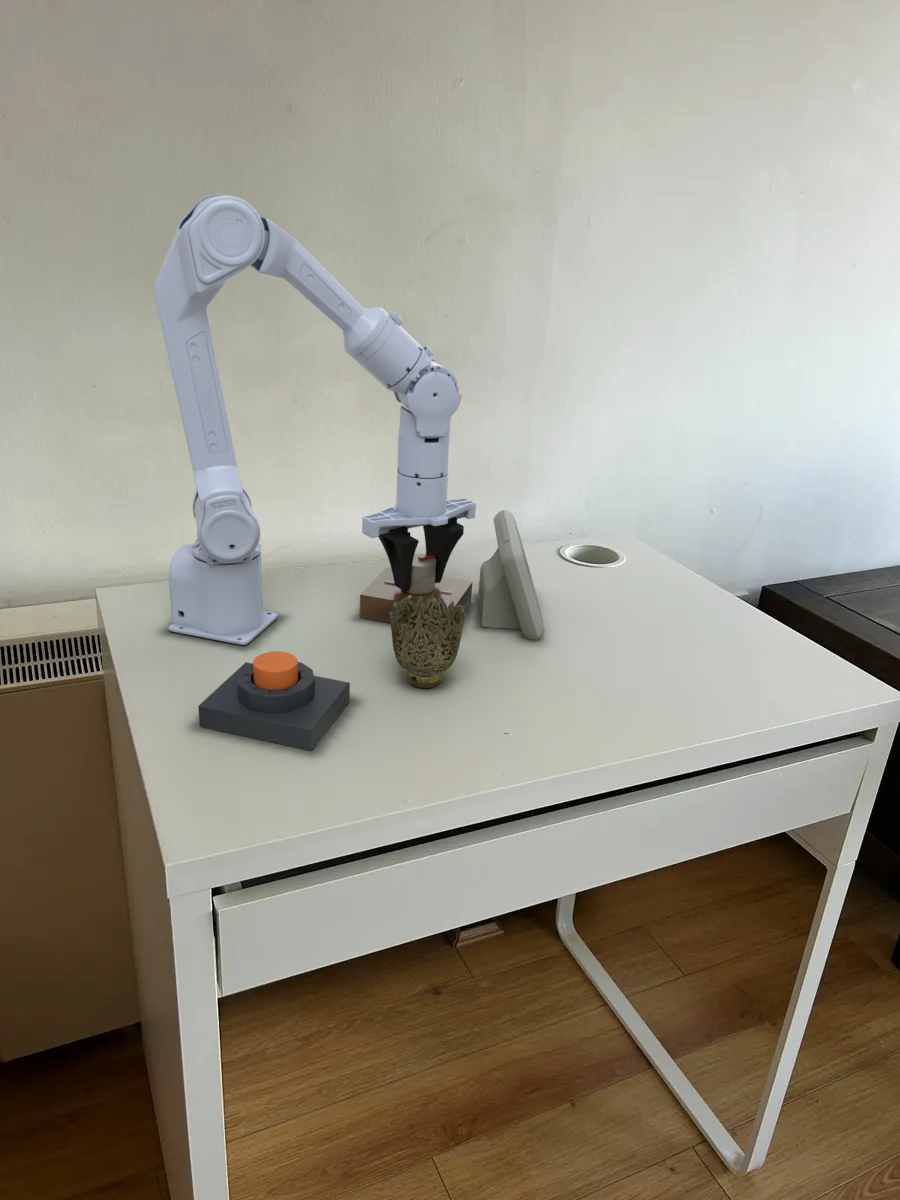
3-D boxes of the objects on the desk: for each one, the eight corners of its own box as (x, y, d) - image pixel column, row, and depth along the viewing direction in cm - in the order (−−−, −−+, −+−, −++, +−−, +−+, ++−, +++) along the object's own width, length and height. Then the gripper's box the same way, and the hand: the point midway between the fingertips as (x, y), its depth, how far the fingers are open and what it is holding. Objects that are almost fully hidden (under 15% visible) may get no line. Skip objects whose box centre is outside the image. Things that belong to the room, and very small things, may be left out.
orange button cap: (246, 686, 82) (245, 666, 81) (266, 667, 85) (265, 647, 84) (286, 695, 81) (286, 674, 80) (305, 674, 84) (305, 655, 83)
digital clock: (541, 647, 100) (551, 558, 96) (462, 636, 101) (468, 548, 97) (553, 591, 115) (562, 512, 110) (483, 582, 116) (490, 503, 112)
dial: (411, 596, 103) (413, 566, 102) (394, 584, 106) (395, 554, 105) (441, 590, 105) (442, 560, 104) (423, 578, 108) (425, 549, 107)
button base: (199, 726, 82) (196, 688, 80) (246, 681, 90) (245, 645, 88) (311, 751, 79) (310, 711, 77) (349, 702, 87) (350, 665, 85)
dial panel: (359, 618, 104) (360, 593, 103) (386, 589, 112) (386, 566, 111) (450, 634, 102) (452, 609, 100) (471, 604, 110) (472, 580, 108)
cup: (452, 705, 88) (457, 631, 84) (379, 694, 89) (381, 620, 85) (466, 670, 94) (471, 600, 91) (398, 660, 95) (400, 591, 92)
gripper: (388, 490, 93) (385, 609, 99) (495, 472, 101) (486, 583, 107) (352, 472, 98) (351, 587, 104) (457, 457, 106) (450, 564, 112)
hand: (417, 584), depth 106 cm, fingers closed on dial, 4 cm apart
